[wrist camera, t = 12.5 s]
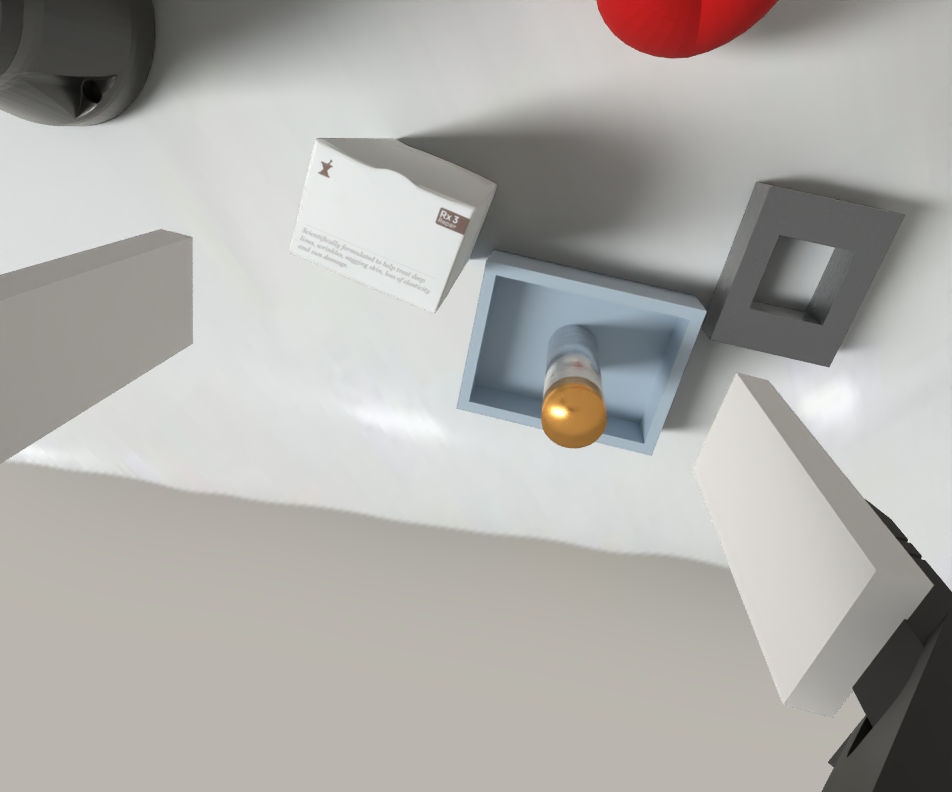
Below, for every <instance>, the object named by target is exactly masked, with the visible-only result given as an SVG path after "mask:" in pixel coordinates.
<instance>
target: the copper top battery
mask: <svg viewBox="0 0 952 792" xmlns="http://www.w3.org/2000/svg"><path fill="white" fill-rule="evenodd" d="M541 423H542V427H543V430H544V432H545V434H546V435H547V436H548V437H549V438H550V439H551V440H552V441H553V442H554V443H556V444H558V445H560V446H563V447H567V448H582V447H585V446H588V445H590V444H592V443H594V442H595V441H596V440H598V439H599V438H600V436H601V435H602V434H603V432H604V430H605V428H606V424H607V415H606V407H605V400H604V392H603V385H602V378H601V370H600V363H599V355H598V348H597V342H596V339H595V337H594V335H593V334H592V333H591V331H589V330H588V329H587V328H585V327H583V326H580V325H573V324H572V325H566V326H563V327H561V328H559V329H557V330H556V331H555V332H554V333H553V334H552V336H551V338H550V340H549V343H548V351H547V361H546V372H545V383H544V393H543V404H542V414H541Z"/></svg>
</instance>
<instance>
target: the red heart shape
mask: <svg viewBox="0 0 952 792" xmlns="http://www.w3.org/2000/svg"><path fill="white" fill-rule="evenodd" d="M777 1H778V0H597V5H598V10H599V12H600V14H601V16H602V18H603V20H604V22H605V24H606V25H607V26H608V27H609V29H610V30H611V31H612V32H613V34H614V35H615V36H617V37H618V38H619V39H620V40H621V41H623V42H624V43H625V44H627V45H628V46H630V47H632V48H634V49H636V50H638V51H640V52H643V53H646V54H649V55H652V56H656V57H664V58H688V57H692V56H695V55H699V54H702V53H705V52H709V51H711V50H713V49H715V48H717V47H720V46H722V45H724V44H726V43H728V42H730V41H731V40H733V39H735V38H736V37H738V36H739V35H741V34H743V33H744V32H746V31H747V30H748V29H749V28H751V27H752V26H753V25H754V24H755V23H757V22H758V21H759V20H760V19H761V18H763V17H764V16H765V15H766V13H767V12H768V11H769V10H770V9H771V8H772V7H773V6H774V5H775V3H776V2H777Z"/></svg>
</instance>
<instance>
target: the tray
mask: <svg viewBox="0 0 952 792" xmlns="http://www.w3.org/2000/svg"><path fill="white" fill-rule="evenodd" d="M706 312H707V311H706V309H705V308H704V307H703V305H702V304H701V303H700V301H699V300H698V299H697V298H696V296H695V295H691V294H686V293H682V292H678V291H673V290H669V289H665V288H660V287H656V286H651V285H647V284H643V283H638V282H634V281H630V280H625V279H621V278H616V277H612V276H608V275H603V274H599V273H595V272H590V271H586V270H581V269H577V268H573V267H568V266H564V265H559V264H555V263H551V262H546V261H542V260H538V259H533V258H529V257H524V256H520V255H516V254H511V253H507V252H503V251H498V250H494V249H493V251H492V253H491V254H490V256H489V257H488V259H487V260H486V265H485V270H484V275H483V280H482V285H481V290H480V295H479V300H478V305H477V310H476V315H475V319H474V324H473V329H472V334H471V339H470V344H469V349H468V354H467V359H466V364H465V369H464V374H463V379H462V383H461V388H460V393H459V398H458V403H457V408H456V409H461V410H465V411H469V412H473V413H477V414H481V415H485V416H490V417H494V418H498V419H502V420H506V421H510V422H514V423H518V424H523V425H527V426H531V427H535V428H539V429H543V427H542V423H541V414H542V404H543V393H544V383H545V372H546V361H547V351H548V343H549V340H550V338H551V336H552V334H553V333H554V332H555V331H556V330H557V329H559V328H561V327H563V326H566V325H572V324H573V325H580V326H583V327H585V328H587V329H588V330H589V331H591V333H592V334H593V335H594V337H595V339H596V342H597V348H598V355H599V363H600V370H601V378H602V385H603V392H604V400H605V407H606V415H607V424H606V428H605V430H604V432H603V434H602V435H601V436H600V438H599V439H598V440H596V441H595V442H597V443H601V444H605V445H609V446H613V447H617V448H622V449H626V450H630V451H634V452H638V453H642V454H646V455H651V456H652V454H653V451H654V448H655V446H656V443H657V441H658V438H659V435H660V433H661V430H662V428H663V425H664V422H665V420H666V417H667V414H668V412H669V409H670V407H671V404H672V401H673V399H674V396H675V393H676V391H677V388H678V386H679V383H680V380H681V378H682V375H683V372H684V370H685V367H686V365H687V362H688V359H689V357H690V354H691V351H692V349H693V346H694V344H695V341H696V338H697V336H698V333H699V330H700V328H701V325H702V323H703V320H704V317H705V315H706Z"/></svg>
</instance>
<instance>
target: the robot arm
mask: <svg viewBox="0 0 952 792" xmlns="http://www.w3.org/2000/svg"><path fill="white" fill-rule="evenodd" d="M154 37H155V25H154V13H153V5H152V0H0V110H3V111H5V112H7V113H10V114H12V115H15V116H17V117H19V118H22V119H25V120H28V121H31V122H35V123H39V124H45V125H52V126H90V125H95V124H99V123H102V122H105V121H107V120H110V119H111V118H113V117H115V116H117V115H118V114H120V113H121V112H122V111H123V110H125V109H126V108H127V107H128V106H129V105H130V104H131V103H132V101H133V100H134V99H135V98H136V96H137V95H138V93H139V92H140V90H141V88H142V86H143V84H144V82H145V80H146V77H147V75H148V72H149V69H150V65H151V61H152V56H153V49H154ZM191 344H193V305H192V237H190V236H186V235H182V234H178V233H174V232H170V231H166V230H162V229H160V230H156V231H153V232H149V233H146V234H142V235H139V236H135V237H132V238H128V239H125V240H121V241H118V242H114V243H111V244H107V245H104V246H100V247H97V248H93V249H90V250H86V251H83V252H79V253H76V254H72V255H69V256H65V257H62V258H58V259H55V260H51V261H48V262H44V263H41V264H37V265H34V266H30V267H27V268H23V269H20V270H16V271H12V272H9V273H5V274H2V275H0V464H1V463H2V462H4V461H5V460H7V459H9V458H10V457H12V456H13V455H15V454H17V453H18V452H20V451H21V450H23V449H25V448H26V447H28V446H29V445H31V444H33V443H34V442H36V441H37V440H39V439H41V438H42V437H44V436H45V435H47V434H49V433H50V432H52V431H53V430H55V429H57V428H58V427H60V426H61V425H63V424H65V423H66V422H68V421H69V420H71V419H73V418H74V417H76V416H77V415H79V414H81V413H82V412H84V411H85V410H87V409H89V408H90V407H92V406H93V405H95V404H97V403H98V402H100V401H101V400H103V399H105V398H106V397H108V396H109V395H111V394H113V393H114V392H116V391H117V390H119V389H121V388H122V387H124V386H125V385H127V384H129V383H130V382H132V381H133V380H135V379H137V378H138V377H140V376H141V375H143V374H145V373H146V372H148V371H149V370H151V369H153V368H154V367H156V366H157V365H159V364H161V363H162V362H164V361H165V360H167V359H169V358H170V357H172V356H173V355H175V354H177V353H178V352H180V351H181V350H183V349H185V348H186V347H188V346H189V345H191ZM692 471H693V474H694V476H695V479H696V482H697V484H698V487H699V489H700V492H701V495H702V497H703V500H704V502H705V505H706V507H707V510H708V513H709V515H710V518H711V520H712V523H713V526H714V528H715V531H716V533H717V536H718V538H719V541H720V544H721V546H722V549H723V551H724V554H725V557H726V559H727V562H728V564H729V567H730V570H731V572H732V575H733V577H734V580H735V582H736V585H737V588H738V590H739V592H740V595H741V598H742V601H743V603H744V606H745V608H746V611H747V613H748V616H749V619H750V621H751V624H752V626H753V629H754V632H755V634H756V636H757V639H758V642H759V644H760V647H761V649H762V652H763V655H764V657H765V660H766V663H767V665H768V668H769V670H770V673H771V675H772V678H773V681H774V683H775V686H776V688H777V691H778V693H779V696H780V699H781V701H782V704H783V705H785V706H789V707H792V708H797V709H800V710H804V711H808V712H812V713H816V714H820V715H824V716H828V717H831V718H833V716H834V715H835V714H836V712H837V711H838V710H839V709H840V707H841V706H842V705H843V703H844V702H845V701H846V699H847V698H848V697H849V695H850V694H851V693H852V692H853V691H854V692H855V694H856V696H857V698H858V700H859V702H860V704H861V706H862V708H863V710H864V712H865V714H866V715H865V717H864V718H863V719H862V720H861V722H860V723H859V724H858V726H857V727H856V728H855V729H854V731H853V732H852V733H851V734H850V735H849V737H848V738H847V739H846V740H845V742H844V743H843V744H842V745H841V747H840V748H839V749H838V750H837V752H836V753H835V754H834V755H833V757H832V758H831V759H830V760H829V762H828V763H829V764H831V765H832V766H833V767H834V769H833V771H832V773H831V775H830V776H829V778H828V780H827V782H826V784H825V786H824V788H823V790H822V792H952V592H951V590H950V589H949V588H948V587H947V586H946V584H945V583H944V582H943V581H942V580H941V578H940V577H939V576H938V575H937V574H936V572H935V571H934V570H933V569H932V568H931V566H930V565H929V564H928V563H927V562H926V560H922V559H921V557H922V556H921V554H920V553H919V552H918V551H917V550H916V548H915V547H914V546H913V545H912V544H911V543H907V541H908V539H907V538H906V537H905V535H904V534H903V533H902V532H901V531H900V529H899V528H898V527H897V526H896V525H895V523H894V522H893V521H892V520H891V519H890V518H889V517H887V516H886V515H885V514H884V513H882V512H881V511H880V510H879V509H877V508H876V507H875V506H874V505H872V504H871V503H870V502H868V501H867V500H865V499H864V498H863V497H862V496H861V494H860V493H859V492H858V491H857V489H856V488H855V487H854V486H853V484H852V483H851V482H850V481H849V479H848V478H847V477H846V476H845V475H844V473H843V472H842V471H841V470H840V468H839V467H838V466H837V465H836V463H835V462H834V461H833V460H832V458H831V457H830V456H829V455H828V454H827V452H826V451H825V450H824V449H823V447H822V446H821V445H820V444H819V442H818V441H817V440H816V439H815V437H814V436H813V435H812V434H811V432H810V431H809V430H808V429H807V428H806V426H805V425H804V424H803V423H802V421H801V420H800V419H799V418H798V416H797V415H796V414H795V413H794V411H793V410H792V409H791V408H790V407H789V405H788V404H787V403H786V402H785V400H784V399H783V398H782V397H781V395H780V394H779V393H778V392H777V390H776V389H775V388H774V387H773V385H772V384H771V383H770V382H769V381H768V380H764V379H760V378H756V377H752V376H748V375H744V374H740V373H736V374H735V376H734V379H733V381H732V383H731V385H730V387H729V389H728V392H727V394H726V396H725V398H724V400H723V403H722V405H721V407H720V409H719V411H718V413H717V416H716V418H715V420H714V422H713V424H712V426H711V429H710V431H709V433H708V435H707V437H706V439H705V442H704V444H703V446H702V448H701V450H700V453H699V455H698V457H697V459H696V461H695V463H694V466H693V468H692Z"/></svg>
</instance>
